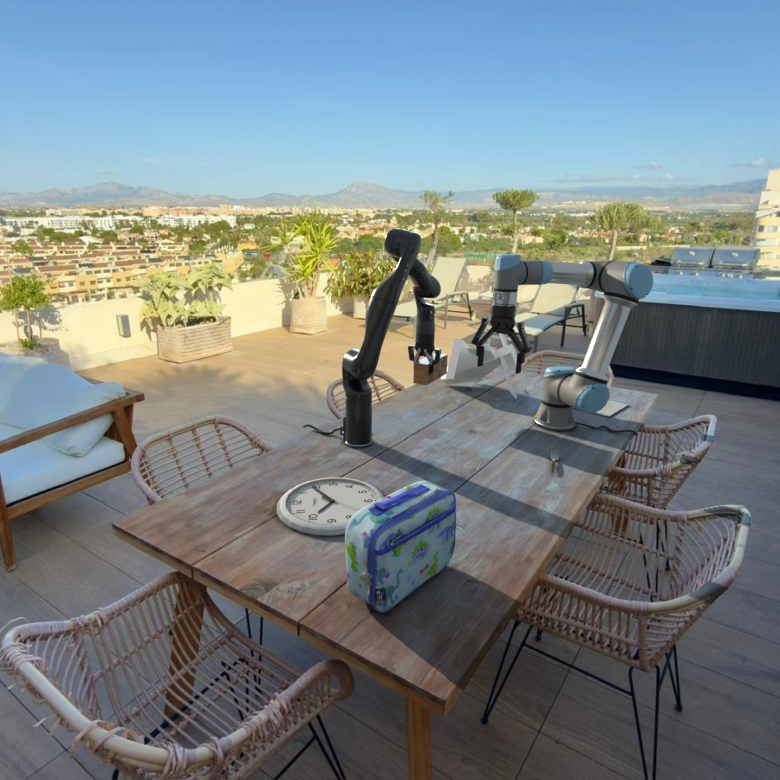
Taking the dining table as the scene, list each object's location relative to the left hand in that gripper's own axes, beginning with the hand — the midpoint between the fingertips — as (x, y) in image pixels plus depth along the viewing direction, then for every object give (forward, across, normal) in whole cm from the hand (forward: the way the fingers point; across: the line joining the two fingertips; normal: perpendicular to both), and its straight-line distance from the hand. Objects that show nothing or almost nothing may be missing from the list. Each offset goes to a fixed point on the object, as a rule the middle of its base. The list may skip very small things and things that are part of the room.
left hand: (423, 372), depth 210 cm
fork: (+17, +58, -22) cm, 65 cm away
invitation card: (+17, +63, +48) cm, 81 cm away
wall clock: (+18, +12, -80) cm, 83 cm away
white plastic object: (+17, +11, +39) cm, 44 cm away
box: (+4, 0, +7) cm, 8 cm away
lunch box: (+18, +43, -100) cm, 110 cm away
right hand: (-11, +37, -21) cm, 44 cm away
